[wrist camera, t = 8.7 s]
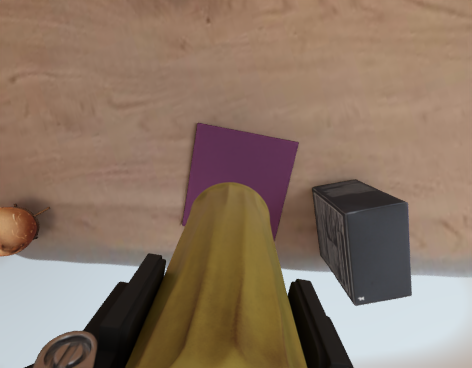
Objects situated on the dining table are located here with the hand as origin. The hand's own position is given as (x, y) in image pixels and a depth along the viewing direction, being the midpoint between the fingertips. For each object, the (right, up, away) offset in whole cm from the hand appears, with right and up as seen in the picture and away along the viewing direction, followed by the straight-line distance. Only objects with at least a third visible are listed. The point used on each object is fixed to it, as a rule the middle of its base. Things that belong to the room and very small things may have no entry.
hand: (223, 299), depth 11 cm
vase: (0, +2, +9) cm, 9 cm away
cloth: (+1, +5, +23) cm, 24 cm away
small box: (+15, 0, +24) cm, 28 cm away
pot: (-28, 0, +24) cm, 37 cm away
